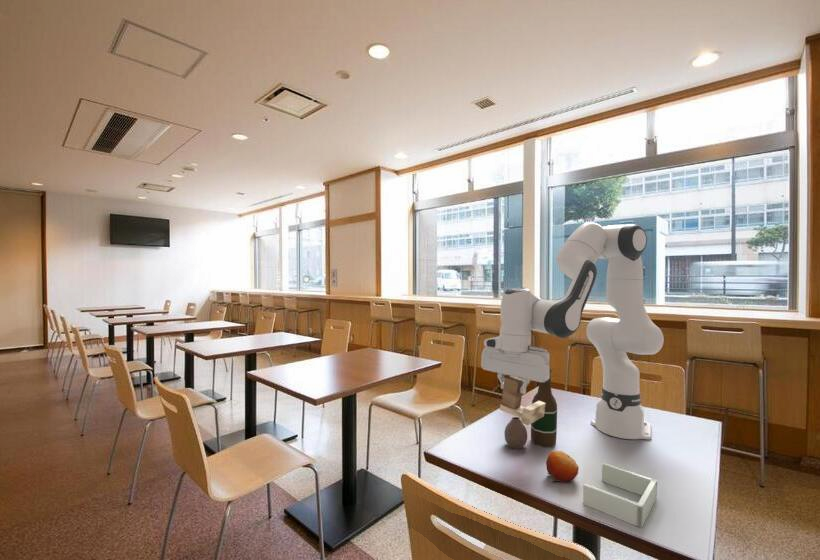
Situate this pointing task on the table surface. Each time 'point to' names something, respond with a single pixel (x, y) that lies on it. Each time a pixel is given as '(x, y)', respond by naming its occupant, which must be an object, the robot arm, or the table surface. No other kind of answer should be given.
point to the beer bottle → (545, 417)
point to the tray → (620, 505)
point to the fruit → (561, 467)
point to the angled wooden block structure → (519, 402)
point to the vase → (515, 433)
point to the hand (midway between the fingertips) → (513, 391)
